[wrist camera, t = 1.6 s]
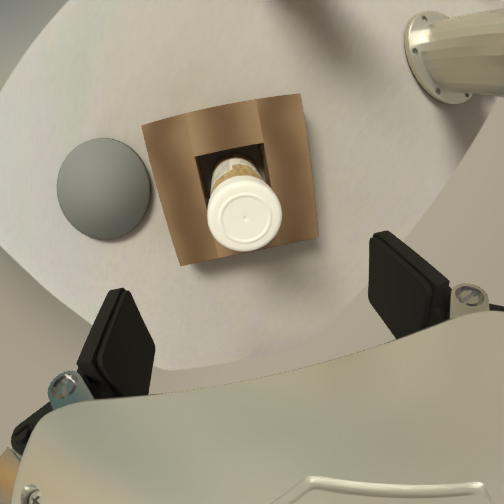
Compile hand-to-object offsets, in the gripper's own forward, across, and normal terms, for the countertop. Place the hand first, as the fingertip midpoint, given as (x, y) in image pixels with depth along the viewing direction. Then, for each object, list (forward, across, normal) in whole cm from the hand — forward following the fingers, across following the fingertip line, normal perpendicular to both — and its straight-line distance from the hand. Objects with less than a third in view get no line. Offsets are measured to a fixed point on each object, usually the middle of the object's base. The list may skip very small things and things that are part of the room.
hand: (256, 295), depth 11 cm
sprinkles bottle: (+21, -1, 0) cm, 21 cm away
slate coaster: (+21, +13, -2) cm, 25 cm away
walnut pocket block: (+21, -1, 0) cm, 21 cm away
